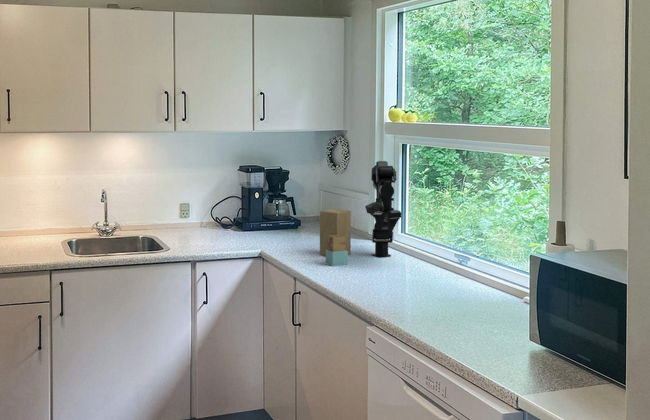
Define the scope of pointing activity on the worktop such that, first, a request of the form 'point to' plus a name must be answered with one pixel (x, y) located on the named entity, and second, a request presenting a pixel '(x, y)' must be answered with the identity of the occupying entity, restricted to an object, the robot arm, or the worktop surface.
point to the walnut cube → (336, 243)
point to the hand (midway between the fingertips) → (384, 232)
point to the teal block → (337, 258)
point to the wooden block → (335, 227)
